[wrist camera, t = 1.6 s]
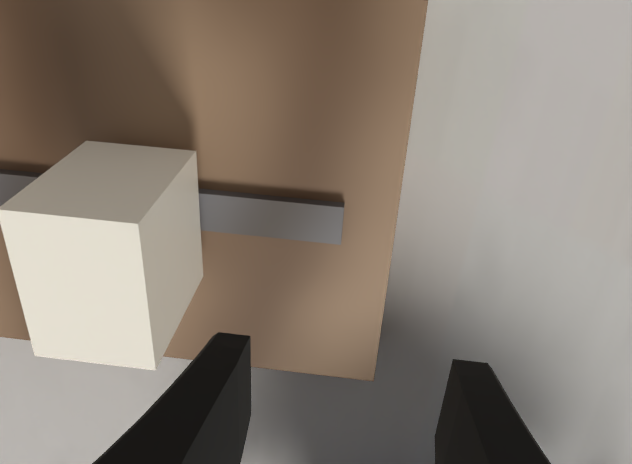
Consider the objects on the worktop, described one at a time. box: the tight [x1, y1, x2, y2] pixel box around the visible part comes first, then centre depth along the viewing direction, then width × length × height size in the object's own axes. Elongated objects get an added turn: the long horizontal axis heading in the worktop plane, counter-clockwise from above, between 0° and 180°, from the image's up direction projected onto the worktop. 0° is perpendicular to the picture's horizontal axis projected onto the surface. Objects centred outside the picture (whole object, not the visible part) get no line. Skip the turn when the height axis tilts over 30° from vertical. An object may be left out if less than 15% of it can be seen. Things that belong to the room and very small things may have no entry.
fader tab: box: [0, 141, 203, 370], centre depth 14 cm, size 3×4×4 cm
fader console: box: [0, 0, 428, 381], centre depth 17 cm, size 22×12×2 cm, turn 87°
